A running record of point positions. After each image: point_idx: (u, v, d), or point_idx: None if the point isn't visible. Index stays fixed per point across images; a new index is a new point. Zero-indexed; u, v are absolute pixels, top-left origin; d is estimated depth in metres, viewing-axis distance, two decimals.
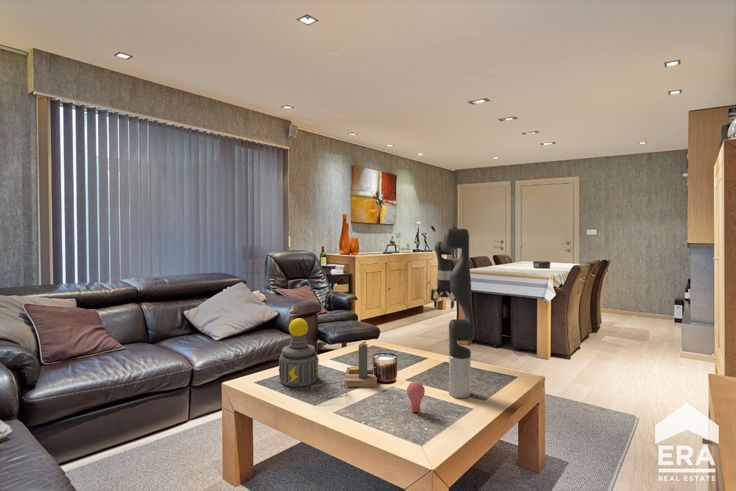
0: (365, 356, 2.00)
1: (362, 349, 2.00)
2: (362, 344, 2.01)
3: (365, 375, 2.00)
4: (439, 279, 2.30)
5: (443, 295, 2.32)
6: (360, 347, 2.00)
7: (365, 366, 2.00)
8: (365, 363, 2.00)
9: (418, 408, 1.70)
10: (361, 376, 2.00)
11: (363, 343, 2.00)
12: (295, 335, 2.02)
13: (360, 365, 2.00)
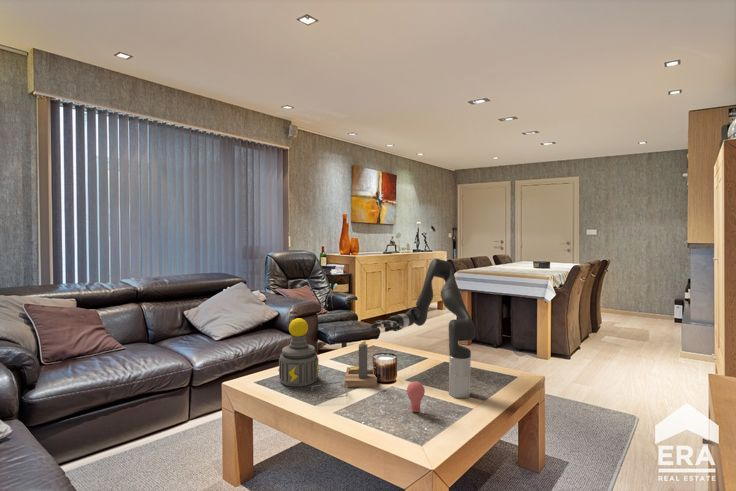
0: (365, 356, 2.00)
1: (362, 349, 2.00)
2: (362, 344, 2.01)
3: (365, 375, 2.00)
4: None
5: (387, 323, 2.15)
6: (360, 347, 2.00)
7: (365, 366, 2.00)
8: (365, 363, 2.00)
9: (418, 408, 1.70)
10: (361, 376, 2.00)
11: (363, 343, 2.00)
12: (295, 335, 2.02)
13: (360, 365, 2.00)
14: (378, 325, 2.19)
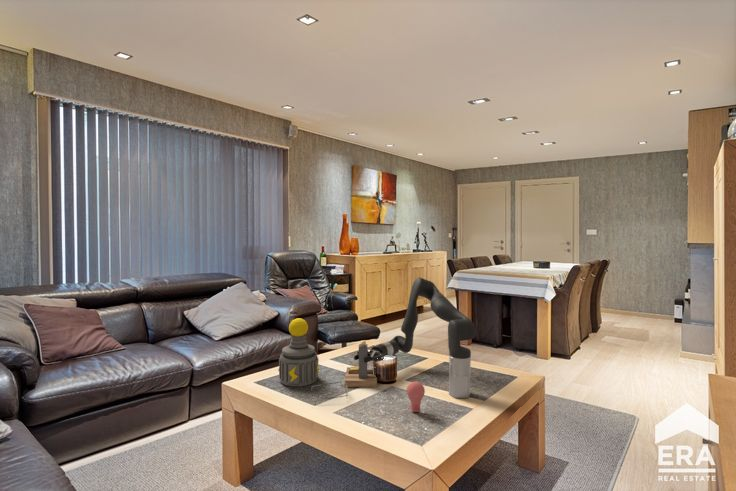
0: (365, 356, 2.00)
1: (362, 349, 2.00)
2: (362, 344, 2.01)
3: (365, 375, 2.00)
4: None
5: (369, 352, 2.06)
6: (360, 347, 2.00)
7: (365, 366, 2.00)
8: (365, 363, 2.00)
9: (418, 408, 1.70)
10: (361, 376, 2.00)
11: (363, 343, 2.00)
12: (295, 335, 2.02)
13: (360, 365, 2.00)
14: None
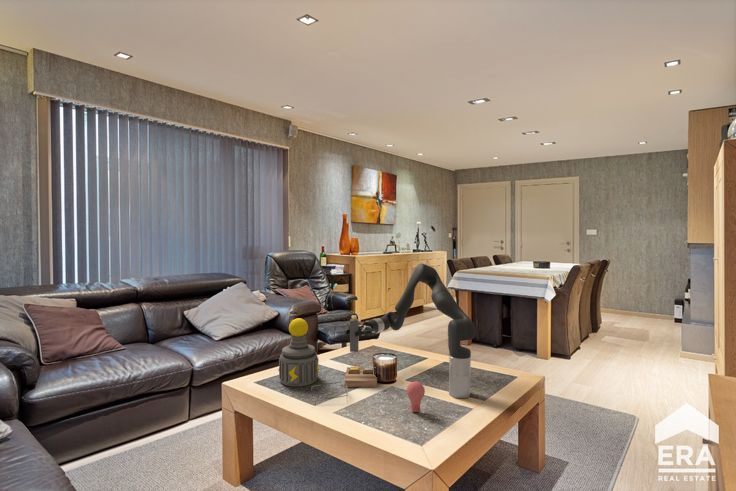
0: (356, 330, 2.05)
1: (353, 323, 2.05)
2: (353, 319, 2.06)
3: (356, 349, 2.06)
4: None
5: (360, 327, 2.12)
6: (351, 321, 2.05)
7: (356, 340, 2.06)
8: (356, 337, 2.06)
9: (418, 408, 1.70)
10: (352, 350, 2.06)
11: (354, 318, 2.06)
12: (295, 335, 2.02)
13: (351, 339, 2.06)
14: None
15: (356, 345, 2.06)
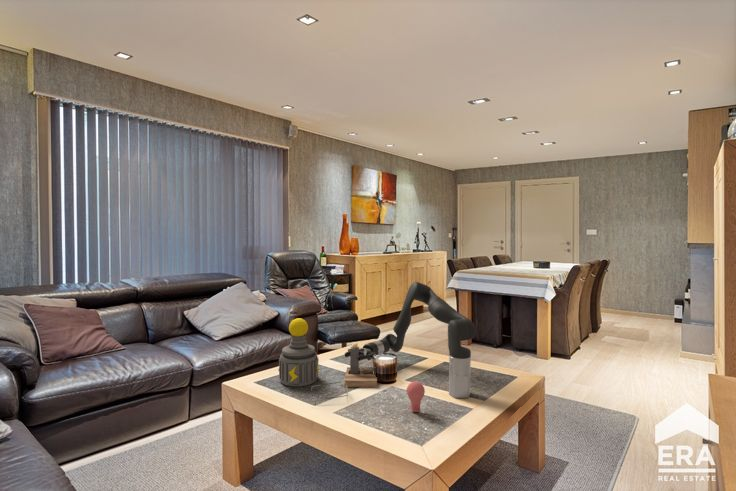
0: (356, 358, 2.06)
1: (354, 351, 2.06)
2: (354, 346, 2.07)
3: None
4: None
5: (360, 351, 2.12)
6: (352, 349, 2.06)
7: (356, 368, 2.06)
8: (356, 365, 2.06)
9: (418, 408, 1.70)
10: None
11: (355, 346, 2.07)
12: (295, 335, 2.02)
13: (351, 367, 2.07)
14: None
15: (356, 373, 2.07)
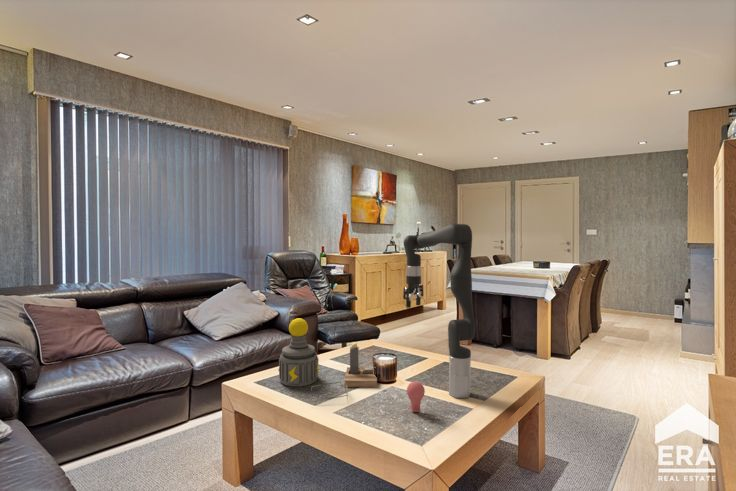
0: (356, 358, 2.06)
1: (353, 351, 2.06)
2: (353, 347, 2.07)
3: None
4: (414, 276, 2.14)
5: (414, 292, 2.17)
6: (351, 349, 2.06)
7: (356, 368, 2.06)
8: (356, 365, 2.06)
9: (418, 408, 1.70)
10: None
11: (354, 346, 2.07)
12: (295, 335, 2.02)
13: (351, 367, 2.07)
14: None
15: (356, 373, 2.07)
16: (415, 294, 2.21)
